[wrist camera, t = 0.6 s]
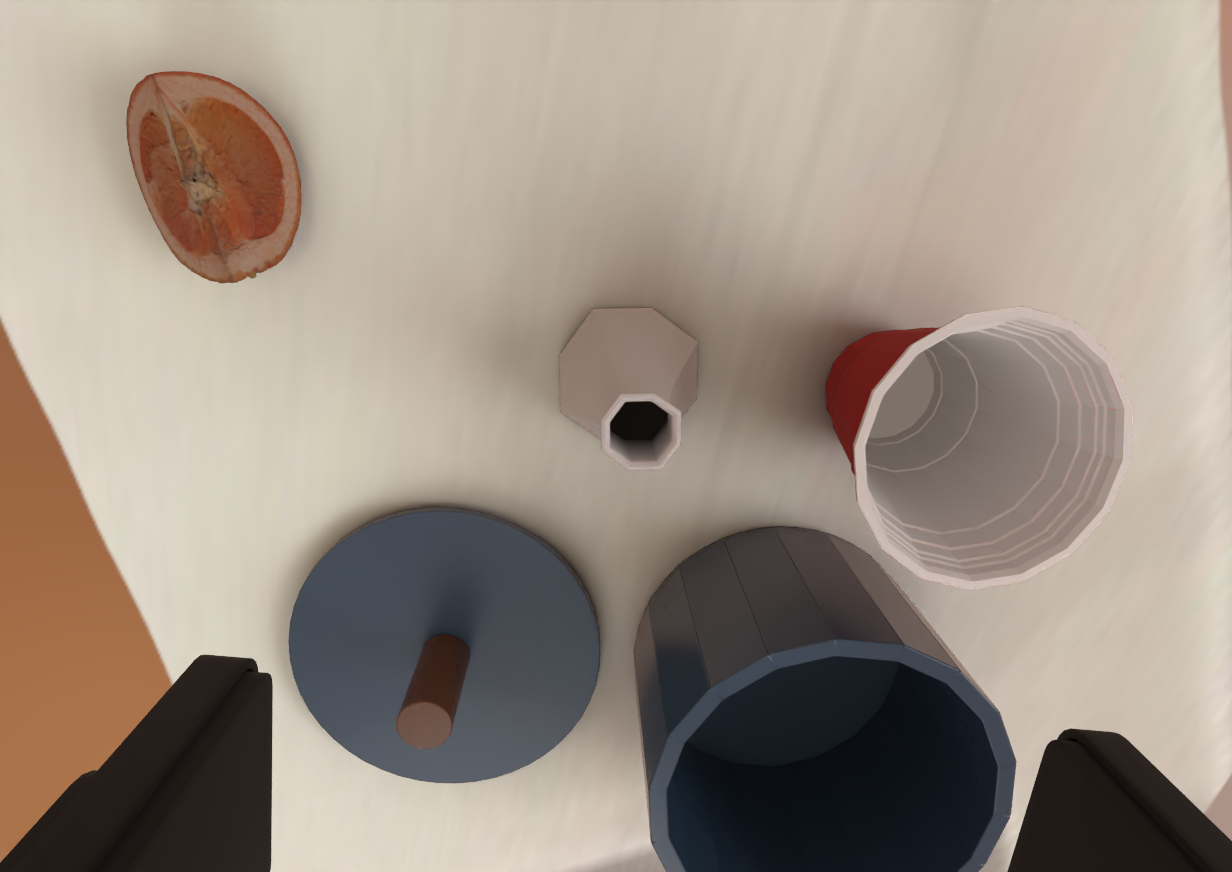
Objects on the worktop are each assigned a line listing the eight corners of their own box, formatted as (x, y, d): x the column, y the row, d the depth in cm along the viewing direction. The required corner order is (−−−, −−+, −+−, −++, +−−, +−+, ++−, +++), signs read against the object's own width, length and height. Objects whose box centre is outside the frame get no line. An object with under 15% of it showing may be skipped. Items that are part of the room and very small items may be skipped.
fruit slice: (336, 258, 38) (300, 267, 33) (200, 289, 38) (145, 303, 33) (277, 71, 35) (229, 51, 31) (132, 105, 36) (62, 91, 31)
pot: (651, 512, 42) (673, 624, 31) (940, 540, 43) (1060, 658, 32) (616, 760, 47) (626, 934, 36) (879, 779, 48) (967, 955, 37)
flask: (673, 461, 41) (699, 541, 32) (538, 422, 40) (523, 491, 31) (720, 328, 39) (762, 371, 30) (580, 284, 39) (578, 313, 29)
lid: (296, 488, 41) (238, 546, 34) (616, 518, 42) (622, 581, 35) (295, 758, 46) (243, 857, 39) (583, 779, 47) (582, 879, 40)
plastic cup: (1030, 393, 41) (1202, 470, 29) (860, 523, 43) (960, 643, 31) (910, 228, 38) (1049, 242, 27) (735, 374, 40) (794, 444, 29)
